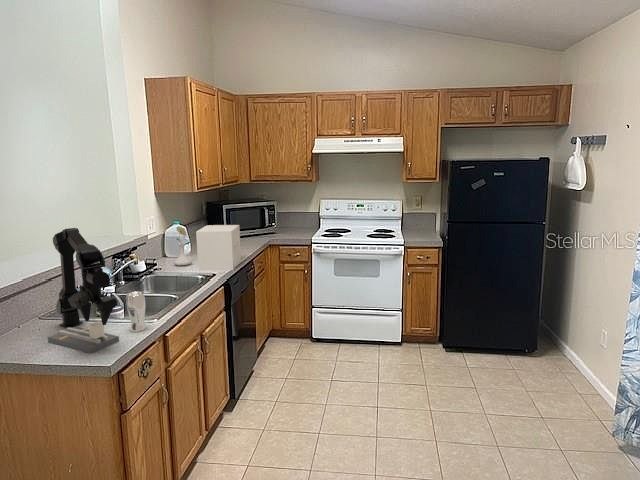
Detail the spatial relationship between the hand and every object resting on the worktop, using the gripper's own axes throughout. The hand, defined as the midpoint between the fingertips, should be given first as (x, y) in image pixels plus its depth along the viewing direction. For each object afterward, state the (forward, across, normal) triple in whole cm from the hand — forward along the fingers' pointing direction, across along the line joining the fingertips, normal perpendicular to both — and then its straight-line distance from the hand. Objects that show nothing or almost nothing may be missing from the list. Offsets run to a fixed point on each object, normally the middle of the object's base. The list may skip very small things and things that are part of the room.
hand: (95, 323), depth 168 cm
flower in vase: (+9, -61, +111) cm, 127 cm away
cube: (+10, -37, +119) cm, 125 cm away
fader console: (+9, -8, 0) cm, 12 cm away
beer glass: (+9, +1, +18) cm, 20 cm away
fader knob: (+6, 0, 0) cm, 6 cm away
